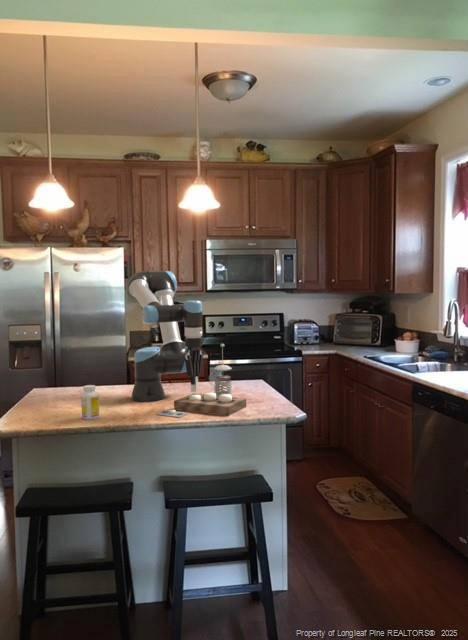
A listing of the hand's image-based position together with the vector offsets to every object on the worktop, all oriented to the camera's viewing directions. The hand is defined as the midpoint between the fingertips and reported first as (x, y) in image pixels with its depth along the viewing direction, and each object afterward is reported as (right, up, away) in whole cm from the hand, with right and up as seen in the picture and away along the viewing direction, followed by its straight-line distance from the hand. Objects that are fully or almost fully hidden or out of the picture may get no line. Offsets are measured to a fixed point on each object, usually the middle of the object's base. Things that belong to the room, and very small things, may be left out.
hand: (194, 391), depth 220 cm
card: (-8, -7, -13) cm, 17 cm away
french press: (+11, -5, +16) cm, 20 cm away
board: (+7, -7, -3) cm, 10 cm away
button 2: (+7, -4, -4) cm, 9 cm away
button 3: (+14, -4, -7) cm, 16 cm away
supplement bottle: (-40, -9, -16) cm, 44 cm away
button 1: (0, -5, 0) cm, 5 cm away
